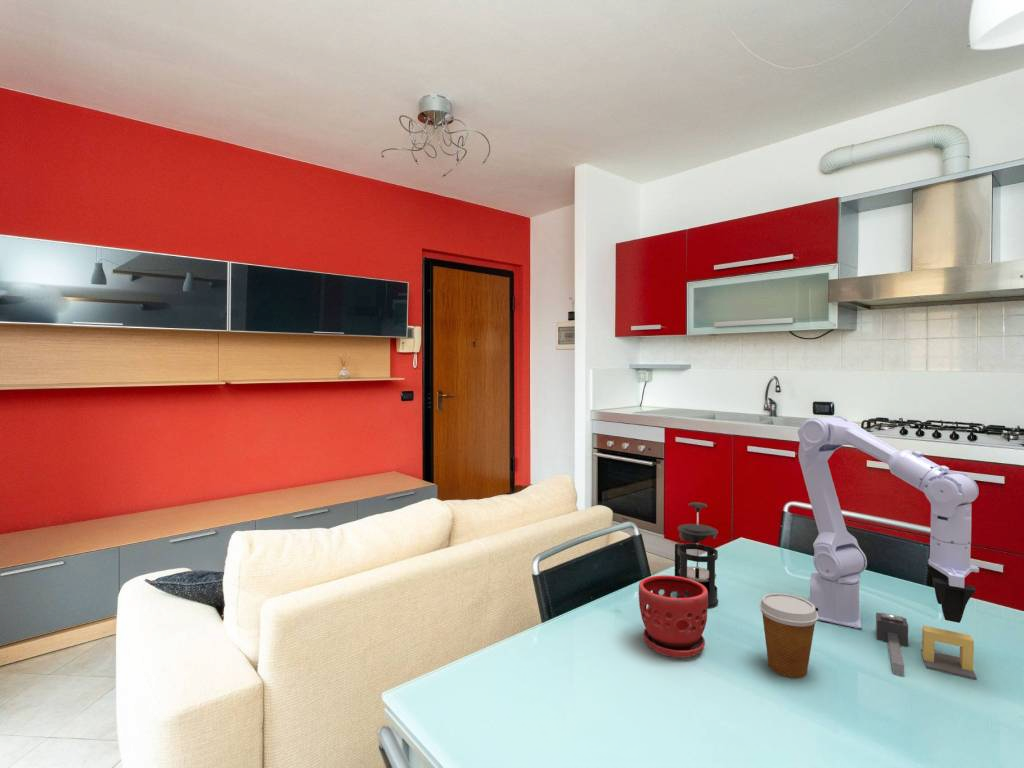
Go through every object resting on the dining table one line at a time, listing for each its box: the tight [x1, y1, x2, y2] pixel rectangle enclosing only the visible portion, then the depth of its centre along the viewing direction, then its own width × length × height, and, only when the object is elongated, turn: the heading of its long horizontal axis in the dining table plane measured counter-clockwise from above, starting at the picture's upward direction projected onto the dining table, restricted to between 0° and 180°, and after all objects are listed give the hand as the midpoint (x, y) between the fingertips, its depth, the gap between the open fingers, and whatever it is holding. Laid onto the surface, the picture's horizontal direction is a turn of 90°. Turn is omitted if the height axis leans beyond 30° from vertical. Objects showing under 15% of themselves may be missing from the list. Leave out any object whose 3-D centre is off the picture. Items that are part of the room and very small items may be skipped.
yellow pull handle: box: [921, 624, 975, 671], centre depth 97 cm, size 7×2×6 cm, turn 58°
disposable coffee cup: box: [758, 592, 818, 679], centre depth 96 cm, size 10×10×12 cm
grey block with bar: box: [875, 612, 909, 677], centre depth 101 cm, size 5×17×5 cm, turn 148°
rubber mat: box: [920, 648, 978, 681], centre depth 97 cm, size 7×7×1 cm
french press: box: [674, 501, 719, 610], centre depth 124 cm, size 12×9×23 cm
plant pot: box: [638, 574, 709, 658], centre depth 104 cm, size 13×13×12 cm
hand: (948, 612), depth 97 cm, fingers open, 7 cm apart
